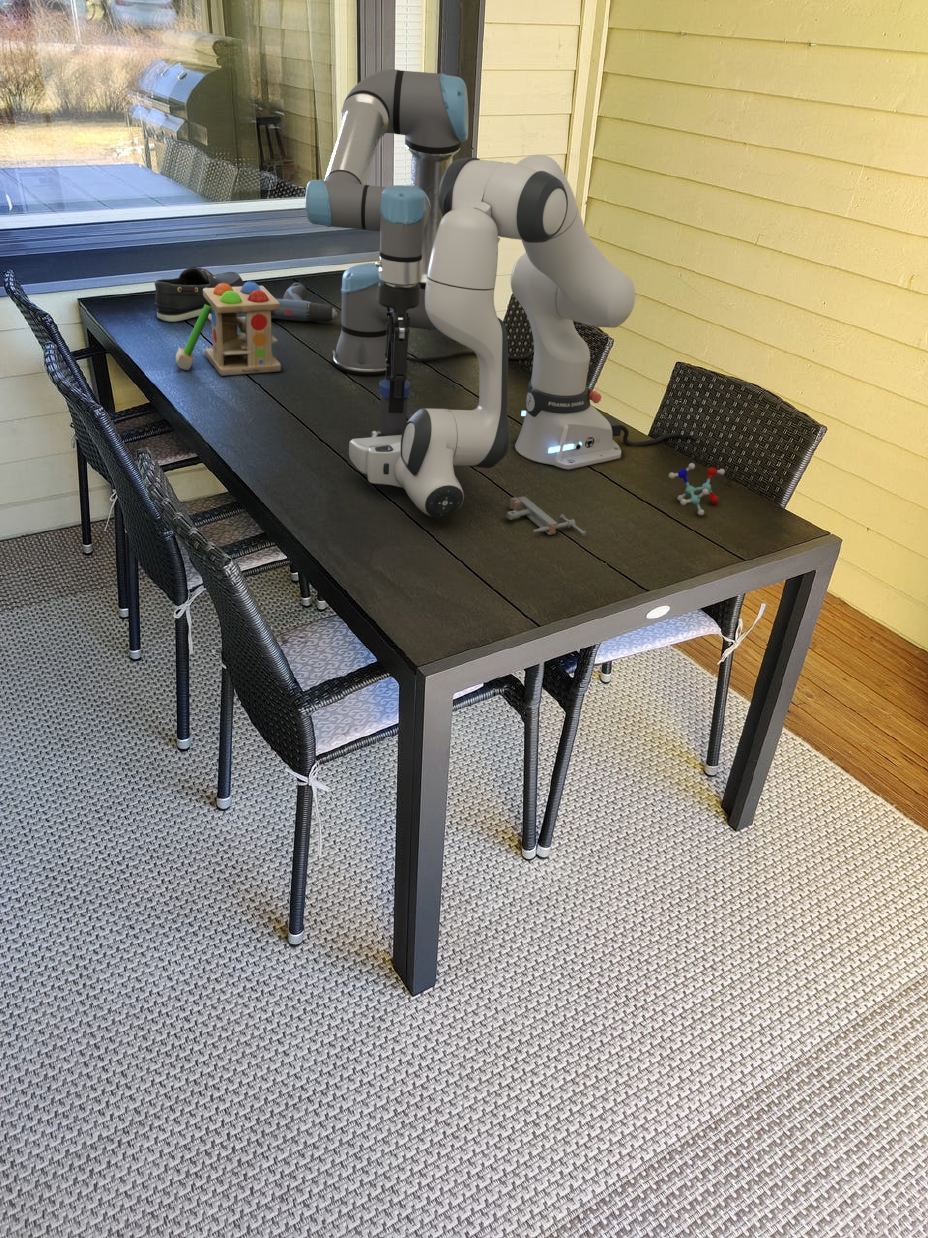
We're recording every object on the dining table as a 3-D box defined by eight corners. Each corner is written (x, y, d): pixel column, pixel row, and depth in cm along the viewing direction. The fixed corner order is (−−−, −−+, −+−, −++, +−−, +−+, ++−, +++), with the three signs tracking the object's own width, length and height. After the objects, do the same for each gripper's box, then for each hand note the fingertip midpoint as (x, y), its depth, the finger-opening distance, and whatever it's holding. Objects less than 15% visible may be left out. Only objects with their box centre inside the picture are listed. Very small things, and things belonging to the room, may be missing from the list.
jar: (388, 473, 191) (392, 395, 182) (373, 463, 194) (375, 386, 185) (409, 467, 193) (413, 391, 185) (393, 457, 197) (397, 382, 188)
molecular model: (729, 509, 182) (714, 457, 180) (679, 523, 185) (663, 472, 184) (733, 500, 192) (719, 451, 191) (686, 514, 196) (671, 466, 194)
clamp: (496, 500, 180) (542, 491, 184) (495, 510, 181) (540, 501, 185) (542, 538, 169) (588, 528, 174) (540, 549, 170) (586, 539, 175)
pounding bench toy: (183, 379, 220) (176, 299, 210) (169, 357, 231) (162, 280, 221) (282, 371, 230) (280, 294, 220) (264, 350, 240) (262, 276, 230)
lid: (377, 396, 183) (377, 387, 182) (381, 385, 188) (381, 376, 187) (407, 400, 183) (408, 391, 182) (411, 388, 187) (411, 380, 186)
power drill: (344, 304, 276) (335, 327, 259) (277, 298, 275) (264, 321, 258) (344, 285, 273) (335, 306, 256) (277, 279, 272) (264, 300, 255)
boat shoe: (262, 300, 274) (260, 262, 268) (174, 323, 250) (170, 282, 245) (229, 292, 279) (226, 254, 274) (139, 314, 256) (134, 273, 250)
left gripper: (373, 266, 180) (369, 386, 193) (383, 296, 165) (378, 425, 178) (413, 267, 182) (407, 387, 195) (427, 298, 167) (419, 425, 180)
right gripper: (468, 442, 182) (441, 413, 192) (362, 452, 175) (341, 421, 185) (465, 473, 186) (439, 443, 196) (361, 484, 178) (340, 452, 189)
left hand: (393, 405), depth 186 cm, fingers closed on lid, 6 cm apart
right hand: (390, 432), depth 191 cm, fingers closed on jar, 5 cm apart
